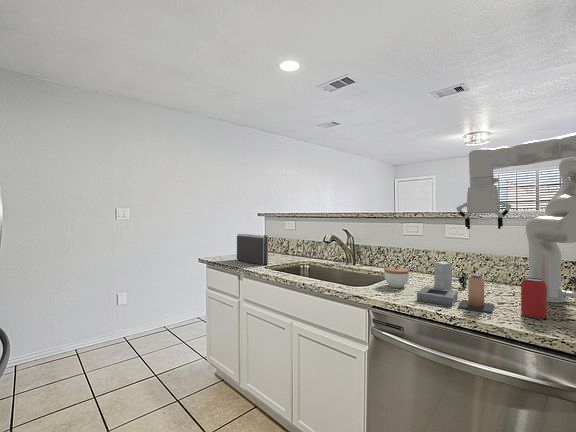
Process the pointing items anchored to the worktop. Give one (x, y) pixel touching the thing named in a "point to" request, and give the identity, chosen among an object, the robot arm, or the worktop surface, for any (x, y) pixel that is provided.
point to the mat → (487, 307)
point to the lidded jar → (396, 276)
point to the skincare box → (443, 275)
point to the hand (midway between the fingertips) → (483, 228)
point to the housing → (437, 296)
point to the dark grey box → (252, 248)
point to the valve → (461, 280)
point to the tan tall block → (476, 290)
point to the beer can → (534, 298)
